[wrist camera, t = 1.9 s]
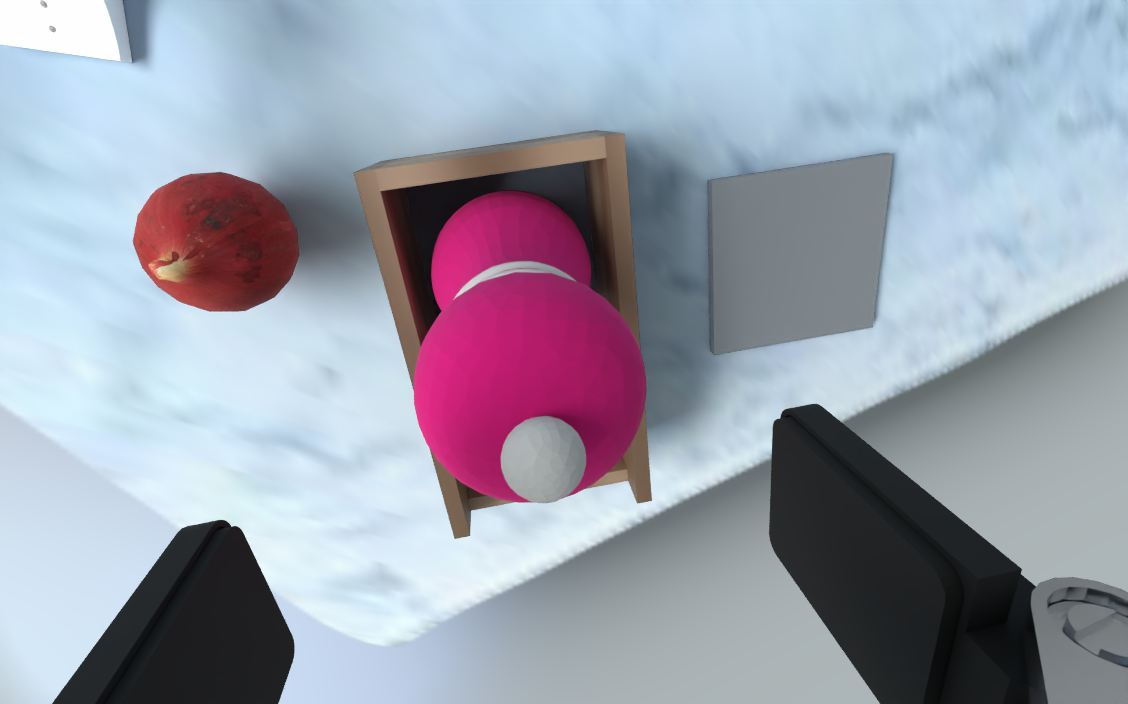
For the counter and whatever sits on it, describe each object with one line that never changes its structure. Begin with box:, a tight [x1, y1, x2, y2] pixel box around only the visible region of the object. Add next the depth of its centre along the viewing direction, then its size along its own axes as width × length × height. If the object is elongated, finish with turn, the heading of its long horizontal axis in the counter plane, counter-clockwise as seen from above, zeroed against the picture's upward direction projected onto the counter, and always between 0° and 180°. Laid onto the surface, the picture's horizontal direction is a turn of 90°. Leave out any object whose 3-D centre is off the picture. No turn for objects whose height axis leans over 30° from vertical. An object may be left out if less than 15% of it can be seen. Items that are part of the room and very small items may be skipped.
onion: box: [133, 172, 299, 311], centre depth 23 cm, size 6×6×8 cm
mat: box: [708, 153, 893, 355], centre depth 31 cm, size 10×10×1 cm
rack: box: [354, 131, 652, 539], centre depth 27 cm, size 11×18×6 cm, turn 7°
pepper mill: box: [414, 191, 646, 503], centre depth 19 cm, size 7×7×20 cm
